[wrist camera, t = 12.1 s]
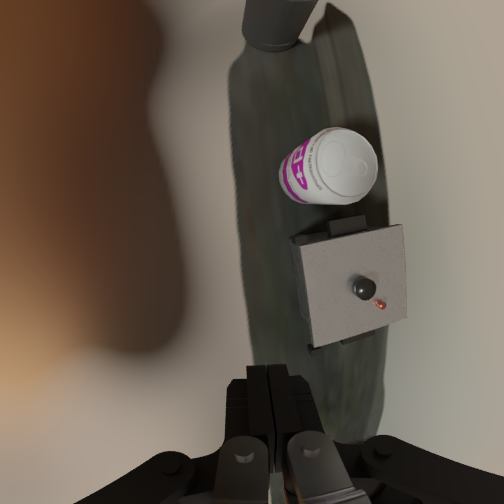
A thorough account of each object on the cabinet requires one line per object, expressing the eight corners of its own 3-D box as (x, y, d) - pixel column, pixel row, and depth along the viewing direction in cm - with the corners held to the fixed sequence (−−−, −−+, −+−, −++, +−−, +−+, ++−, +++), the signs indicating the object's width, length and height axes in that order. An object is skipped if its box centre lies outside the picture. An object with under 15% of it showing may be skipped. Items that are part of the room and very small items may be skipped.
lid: (297, 245, 33) (304, 248, 31) (397, 224, 34) (409, 225, 32) (311, 344, 36) (318, 353, 33) (402, 315, 37) (412, 321, 34)
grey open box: (275, 224, 42) (293, 230, 32) (359, 208, 43) (394, 210, 33) (293, 329, 45) (312, 361, 35) (369, 308, 46) (401, 331, 36)
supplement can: (272, 196, 41) (300, 191, 26) (285, 142, 40) (318, 112, 25) (324, 210, 42) (374, 214, 28) (336, 158, 41) (388, 139, 27)
